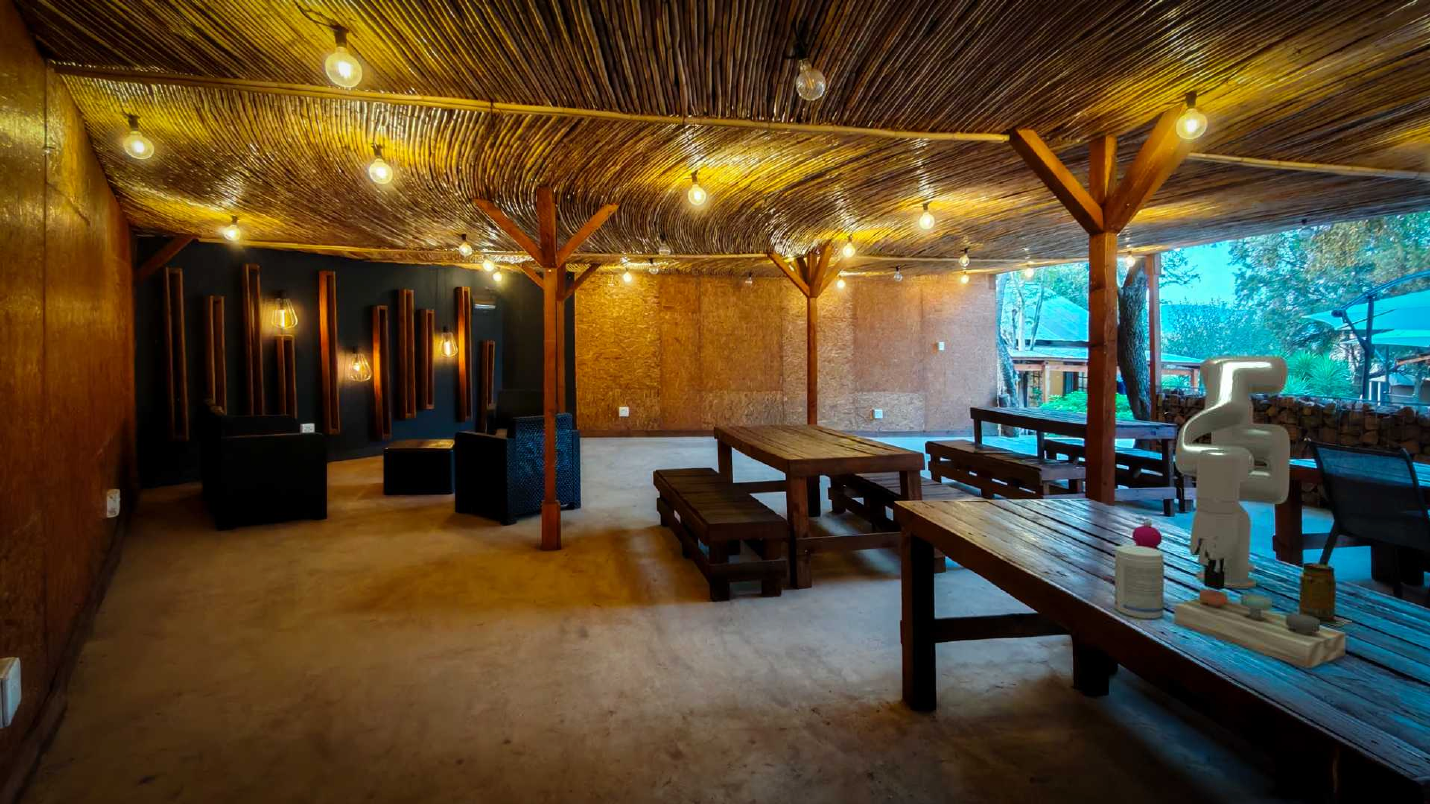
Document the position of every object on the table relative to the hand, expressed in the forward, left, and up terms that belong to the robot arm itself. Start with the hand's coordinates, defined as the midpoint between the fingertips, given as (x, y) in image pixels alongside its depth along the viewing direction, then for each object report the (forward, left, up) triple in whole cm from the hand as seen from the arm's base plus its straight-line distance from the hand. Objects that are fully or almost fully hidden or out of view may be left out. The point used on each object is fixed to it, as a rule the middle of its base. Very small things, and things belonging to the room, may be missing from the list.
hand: (1214, 587), depth 145 cm
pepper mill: (-2, -16, -9) cm, 18 cm away
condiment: (-27, +8, -9) cm, 29 cm away
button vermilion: (0, 0, -6) cm, 6 cm away
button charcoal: (0, +16, -6) cm, 17 cm away
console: (0, +8, -8) cm, 12 cm away
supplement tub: (+7, -12, -9) cm, 16 cm away
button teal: (0, +8, -5) cm, 9 cm away
